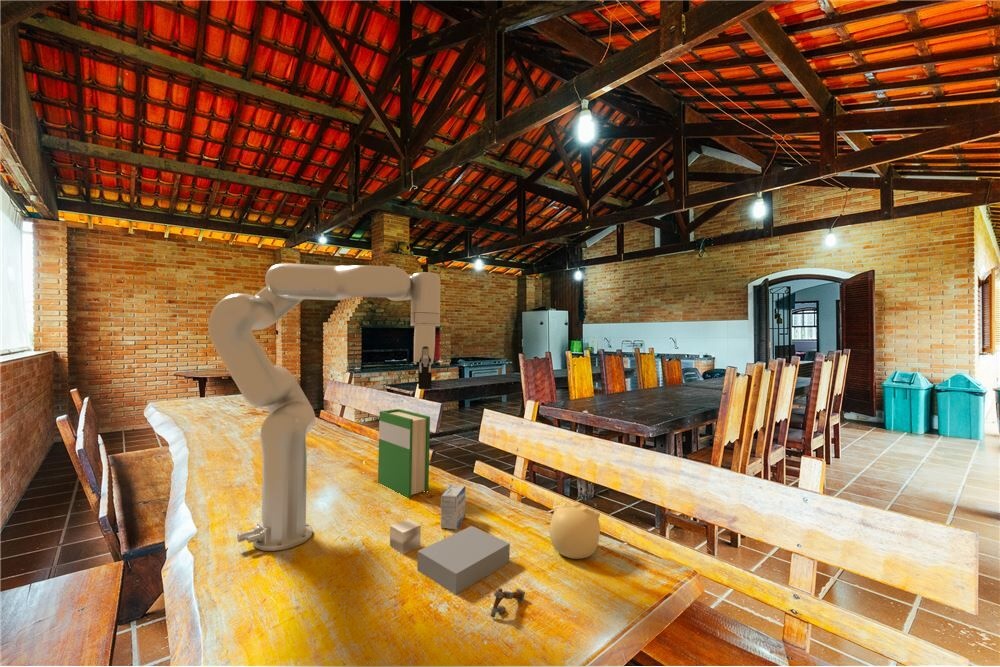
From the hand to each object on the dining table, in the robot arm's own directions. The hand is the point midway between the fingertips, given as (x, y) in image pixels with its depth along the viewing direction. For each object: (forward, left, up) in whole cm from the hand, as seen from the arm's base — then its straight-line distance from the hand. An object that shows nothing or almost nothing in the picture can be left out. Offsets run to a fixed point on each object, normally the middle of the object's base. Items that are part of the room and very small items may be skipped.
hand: (424, 386), depth 106 cm
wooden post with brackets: (-9, -37, -37) cm, 53 cm away
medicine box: (+7, -4, -37) cm, 38 cm away
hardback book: (+12, +26, -37) cm, 47 cm away
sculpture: (+17, -35, -37) cm, 54 cm away
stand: (-5, -21, -36) cm, 42 cm away
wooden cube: (-9, -5, -37) cm, 38 cm away
